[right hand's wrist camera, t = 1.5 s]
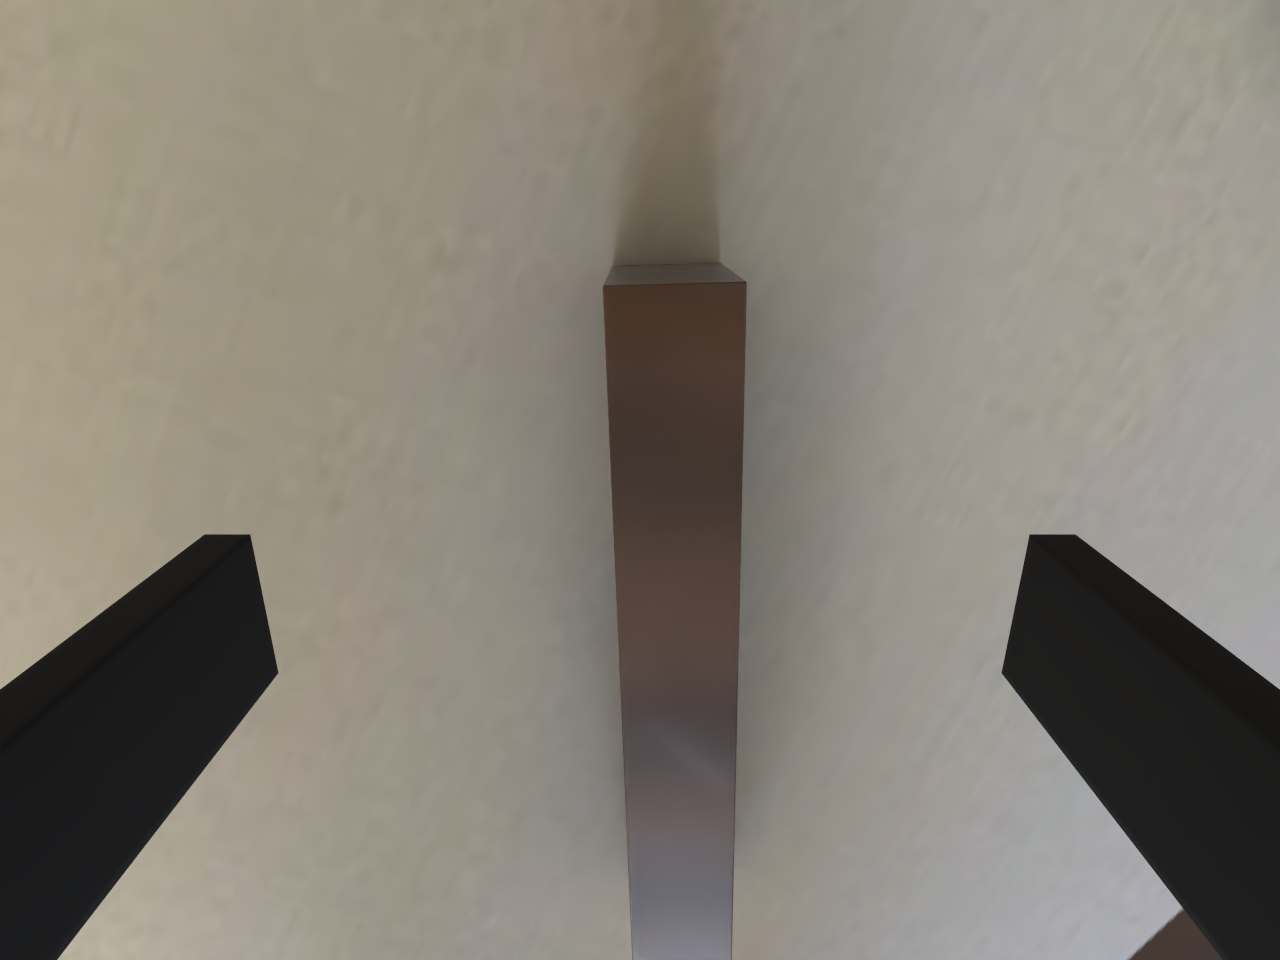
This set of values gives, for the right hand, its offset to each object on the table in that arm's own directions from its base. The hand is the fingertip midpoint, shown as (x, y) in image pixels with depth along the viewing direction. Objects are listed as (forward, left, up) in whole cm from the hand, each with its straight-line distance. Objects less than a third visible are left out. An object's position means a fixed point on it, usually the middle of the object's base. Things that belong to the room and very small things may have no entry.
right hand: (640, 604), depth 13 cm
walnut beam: (+8, +7, -17) cm, 20 cm away
